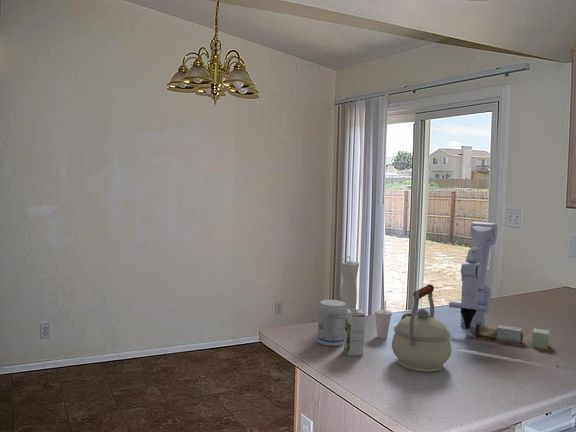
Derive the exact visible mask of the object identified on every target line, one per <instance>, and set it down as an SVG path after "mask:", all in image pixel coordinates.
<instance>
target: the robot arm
mask: <svg viewBox="0 0 576 432" xmlns="http://www.w3.org/2000/svg"><path fill="white" fill-rule="evenodd" d="M469 230H470V231H469V233H470V235H471V236H470V237H471V240H472V247H471V248H469V249H468V251H467V254H466V257H465V261H464V263H462V264H461V267H460V277H461V297H460V298H461V300H460V302H456V301H449V302H448V308H451V309H452V308H454V309H460V326H463V327H464V328H465V329H466V330H467V329H468V330H470V328H474V329H476V324H477V323H478V322H481V325H484V326H486V318H487V317H486V315H487V314H488V313H489V312H490V305H491V302H492V290H491V288H490V287H489V286H488V285H487V284H486V280H487V279H486V277H487V269H488V261H489V253H490V249H491V247H492V246H493V245H496V241H497V236H498V224H497V223H496V222H482V221H481V222H478V221H472V222H471V224H470V229H469Z"/></svg>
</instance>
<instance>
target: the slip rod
mask: <svg viewBox="0 0 576 432" xmlns="http://www.w3.org/2000/svg"><path fill="white" fill-rule="evenodd" d="M497 327H498V326H497ZM497 327H496V326H490V325H485V326H484V325H481V322H478V323H477V324H476V328H475V331H476V334H475V336H479V335H485V336H491V337H497ZM523 339H524V331H523V330H522V331H521V338H520V341H523Z"/></svg>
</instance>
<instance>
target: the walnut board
mask: <svg viewBox="0 0 576 432" xmlns="http://www.w3.org/2000/svg"><path fill="white" fill-rule="evenodd" d="M475 334H476V330H474V331H473V333H472V334H471V336H470V337H469V339H470V340H475V341H481V342H482V341H483V342H487V343H488V342H489V343H492V344H493V343H494V344H500V345H506V346H512V347H515V348H517V347H518V348H523V349H528V350H535V351H542V352H546V353H551V352H552V343H550V342H548V349H542V348H537V347H532V340H533V339H526V338H525V339H524V338H523V341H521V343H520V344H515V343H509V342H503V341H497V337H491V336H485V335H479V336H475Z"/></svg>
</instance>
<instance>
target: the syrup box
mask: <svg viewBox="0 0 576 432" xmlns="http://www.w3.org/2000/svg"><path fill="white" fill-rule="evenodd" d="M365 324H366V313H365V312H364V311H363V310H362V309H360V308H359V309H358V308H356V309H346V318H345V334H344V343H343V351H344V354H345V355H346V357H347V356H348V357H353V356H354V357H358V356H359V357H361V356H364V343H365V326H366V325H365Z"/></svg>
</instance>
